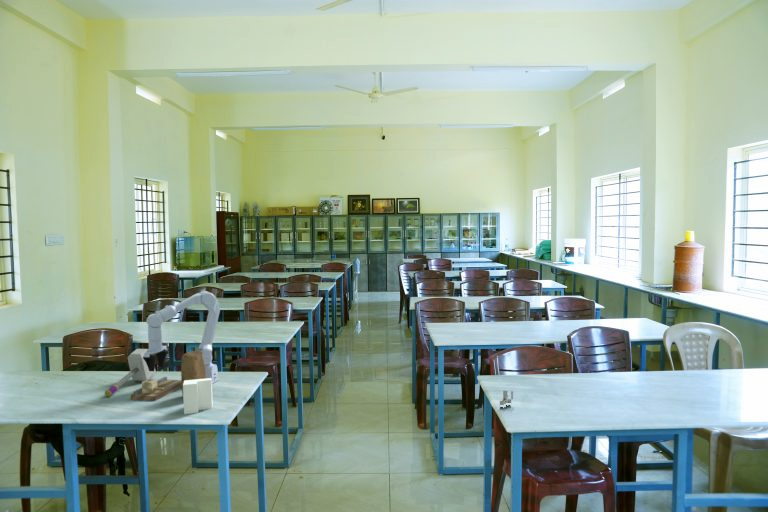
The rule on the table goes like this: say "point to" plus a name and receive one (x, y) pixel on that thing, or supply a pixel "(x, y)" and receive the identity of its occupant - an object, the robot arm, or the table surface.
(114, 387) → the hammer
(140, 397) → the board
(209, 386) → the corner bracket
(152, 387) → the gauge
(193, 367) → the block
